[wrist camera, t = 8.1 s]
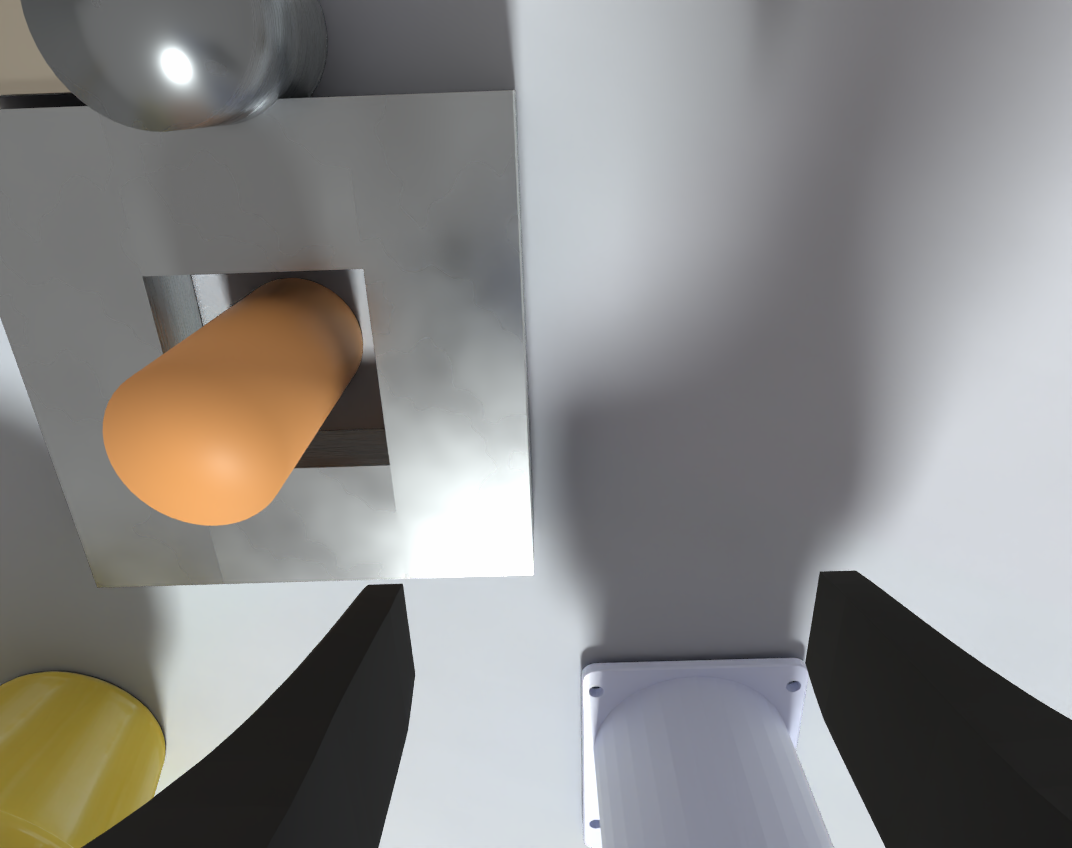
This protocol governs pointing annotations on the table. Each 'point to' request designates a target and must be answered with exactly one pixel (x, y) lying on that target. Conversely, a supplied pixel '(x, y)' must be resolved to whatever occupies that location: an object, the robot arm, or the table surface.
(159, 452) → the orange rounded cylinder
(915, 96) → the table surface
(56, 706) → the plant pot
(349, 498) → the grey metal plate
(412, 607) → the table surface
